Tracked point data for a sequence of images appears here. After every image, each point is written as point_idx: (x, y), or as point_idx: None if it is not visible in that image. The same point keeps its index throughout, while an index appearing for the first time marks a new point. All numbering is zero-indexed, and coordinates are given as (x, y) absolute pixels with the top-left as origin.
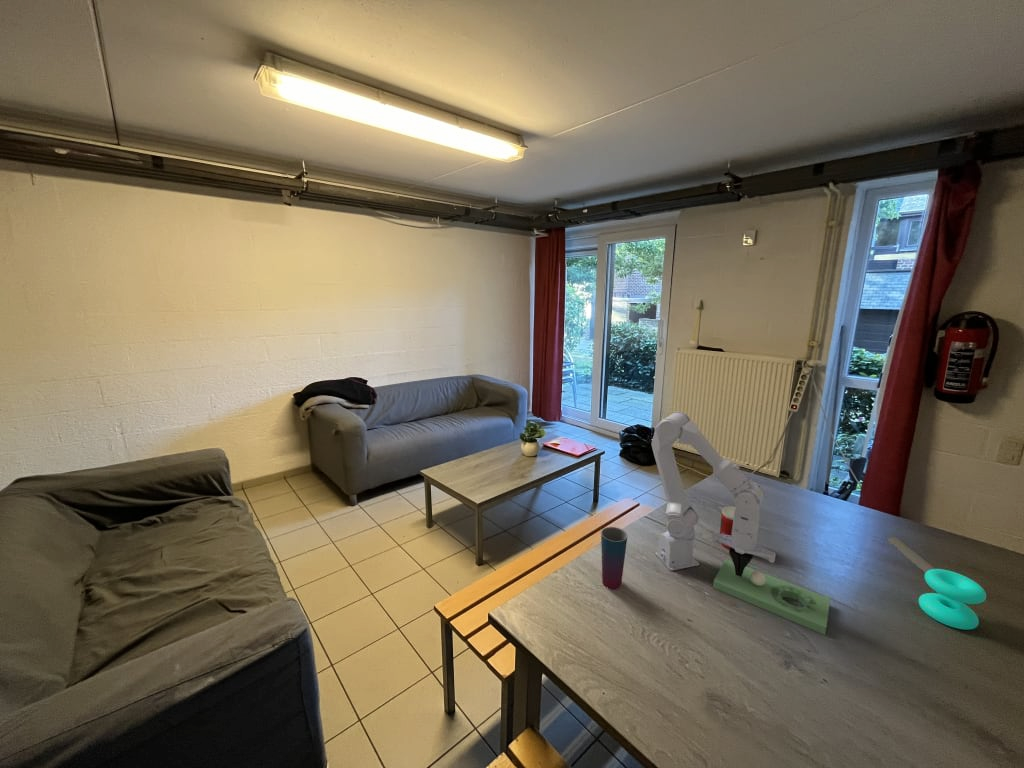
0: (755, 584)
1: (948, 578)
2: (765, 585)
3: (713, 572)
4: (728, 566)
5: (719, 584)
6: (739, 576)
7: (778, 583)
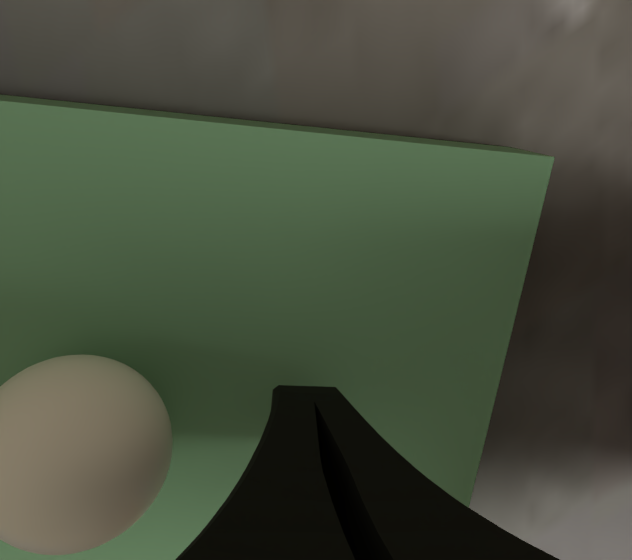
0: (100, 357)
1: None
2: None
3: (510, 385)
4: None
5: (480, 147)
6: None
7: None
